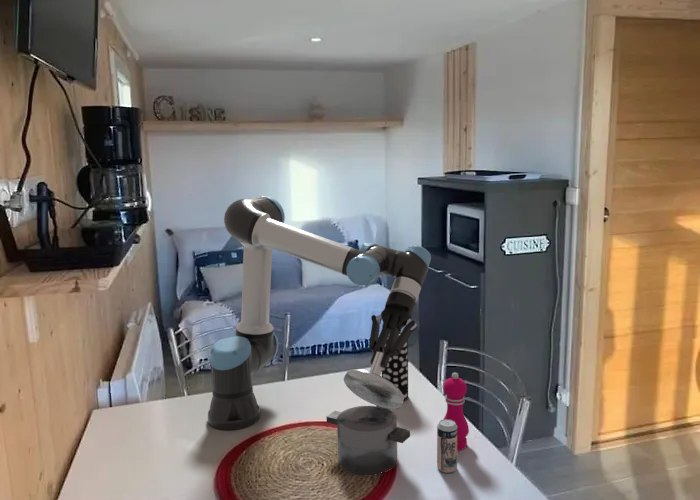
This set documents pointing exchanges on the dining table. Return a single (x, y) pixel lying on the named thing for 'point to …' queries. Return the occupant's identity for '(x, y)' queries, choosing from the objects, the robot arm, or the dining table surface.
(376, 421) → the cooking pot
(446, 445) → the beer can
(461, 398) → the pepper mill
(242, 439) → the dining table surface
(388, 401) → the pot lid
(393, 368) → the white-spotted black cylinder
